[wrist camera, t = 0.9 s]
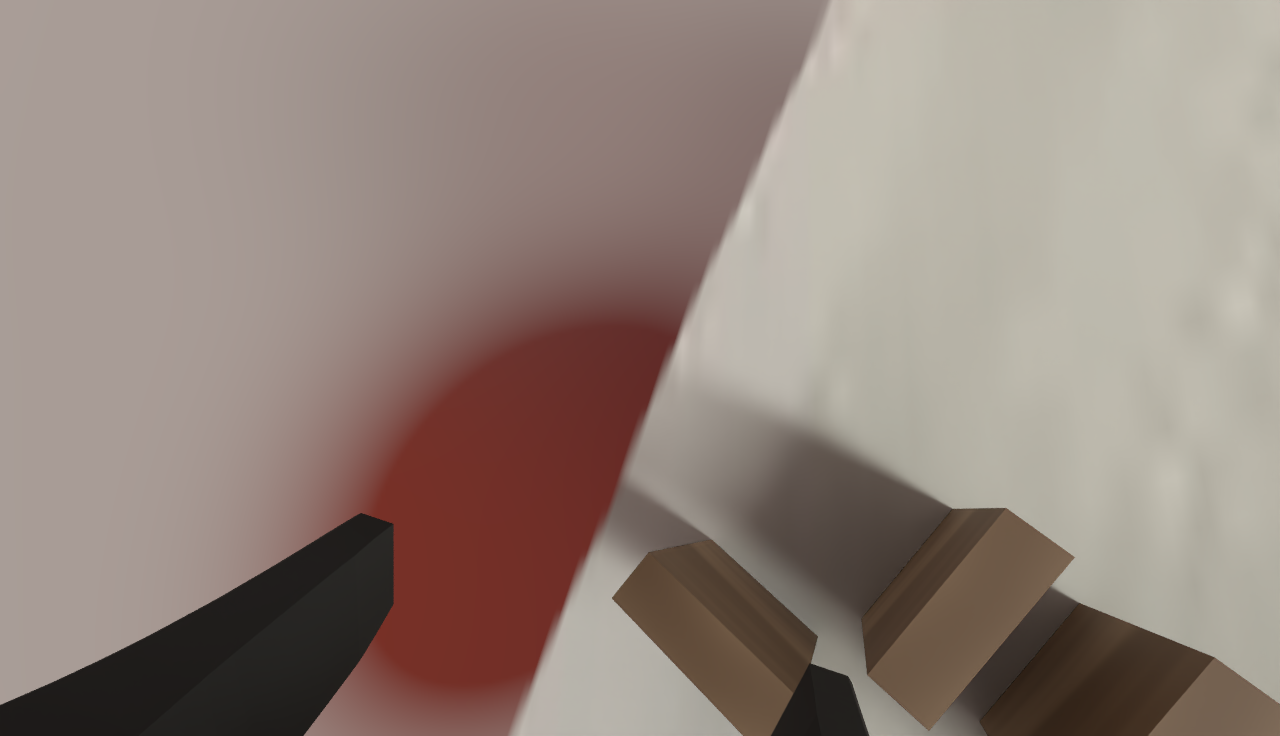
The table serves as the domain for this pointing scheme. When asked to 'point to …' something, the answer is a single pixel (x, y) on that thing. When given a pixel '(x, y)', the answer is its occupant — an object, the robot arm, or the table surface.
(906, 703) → the domino
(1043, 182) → the table surface
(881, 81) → the table surface
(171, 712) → the robot arm
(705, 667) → the domino
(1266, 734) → the domino
